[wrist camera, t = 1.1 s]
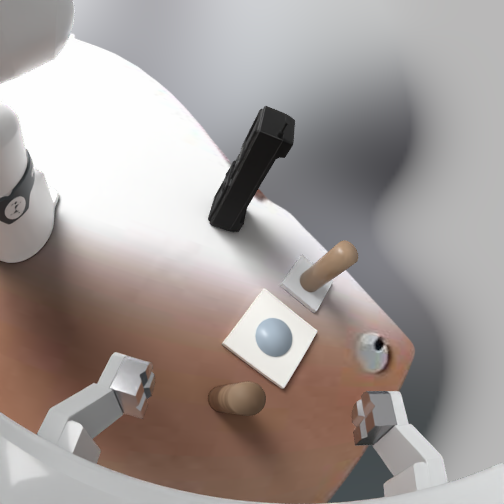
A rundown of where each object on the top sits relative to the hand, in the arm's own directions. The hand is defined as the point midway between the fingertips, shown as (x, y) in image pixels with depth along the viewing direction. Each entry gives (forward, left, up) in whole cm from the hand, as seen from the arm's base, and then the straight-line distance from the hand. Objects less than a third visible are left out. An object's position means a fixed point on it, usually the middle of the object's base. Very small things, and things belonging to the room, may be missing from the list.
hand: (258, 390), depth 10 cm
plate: (+7, +17, -33) cm, 38 cm away
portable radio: (-13, +31, -33) cm, 48 cm away
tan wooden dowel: (+7, +30, -33) cm, 45 cm away
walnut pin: (+6, +4, -33) cm, 34 cm away
